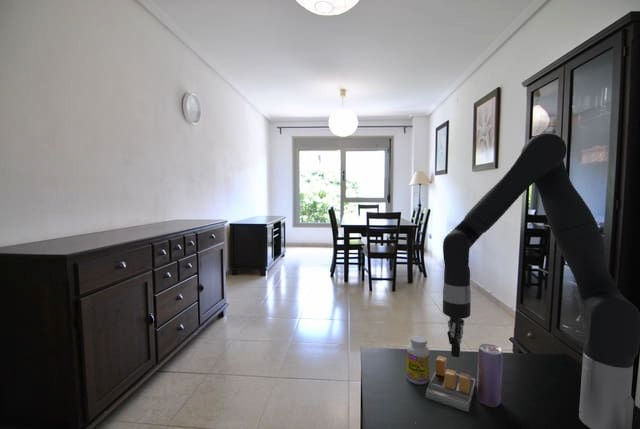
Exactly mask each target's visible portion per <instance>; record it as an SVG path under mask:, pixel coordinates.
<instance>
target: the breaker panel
mask: <svg viewBox="0 0 640 429" xmlns="http://www.w3.org/2000/svg"><path fill="white" fill-rule="evenodd" d="M460 374H461V373H456V387H455V390H453V389H450V388H447V387H444V379H445V376H441V375H437V374H436V370H435V371H434V373H433V375H432V378H431V380H430V381H429V382H428V386H427V387H426V390H425V399H428V400H431V401H434V402H437V403H440V404H442V405H443V404H444V405H446V406H449V407H451V408H454V409H458V410H461V411H464V412H468V413H469V411H470V408H471V404H472V399H473V395H474V392H475V386H476V378H474V377H471V379H470V393H469V394H466V393H463V392H460V391H459V377H460Z"/></svg>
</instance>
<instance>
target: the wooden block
mask: <svg viewBox="0 0 640 429" xmlns="http://www.w3.org/2000/svg"><path fill="white" fill-rule="evenodd" d="M446 370H447V357H445V356H441V355H437V357H436V359H435V371H436V374H437V375H441V376H445V372H446Z"/></svg>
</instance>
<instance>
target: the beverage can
mask: <svg viewBox="0 0 640 429" xmlns="http://www.w3.org/2000/svg"><path fill="white" fill-rule="evenodd" d="M478 347H479V348H478V354H477V374H476V378H477V379H476V399H477V400H478V402H480V403H481V404H482V405H483V406H487V407H491V408H495V407H498V406H499V405H500V404H501V403H502V402H501V401H502V384H503V382H502V381H503V365H504V364H503V363H504V362H503V361H504V354H503V349H502V348H501V347H499V346H497V345H494V344H489V343H482V344H479V346H478Z"/></svg>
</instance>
